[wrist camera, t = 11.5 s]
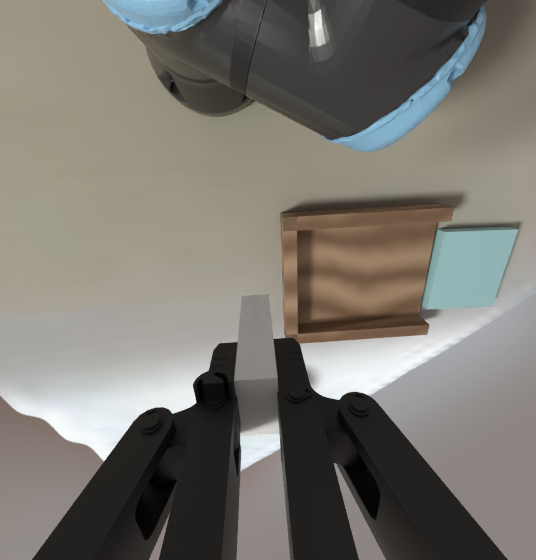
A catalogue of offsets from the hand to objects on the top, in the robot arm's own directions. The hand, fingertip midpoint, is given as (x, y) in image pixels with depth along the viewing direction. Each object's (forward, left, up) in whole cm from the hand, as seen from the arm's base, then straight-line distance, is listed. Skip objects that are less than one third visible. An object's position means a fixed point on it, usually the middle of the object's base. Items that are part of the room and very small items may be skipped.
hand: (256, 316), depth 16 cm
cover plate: (+10, +36, -30) cm, 48 cm away
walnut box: (+10, +16, -29) cm, 35 cm away
